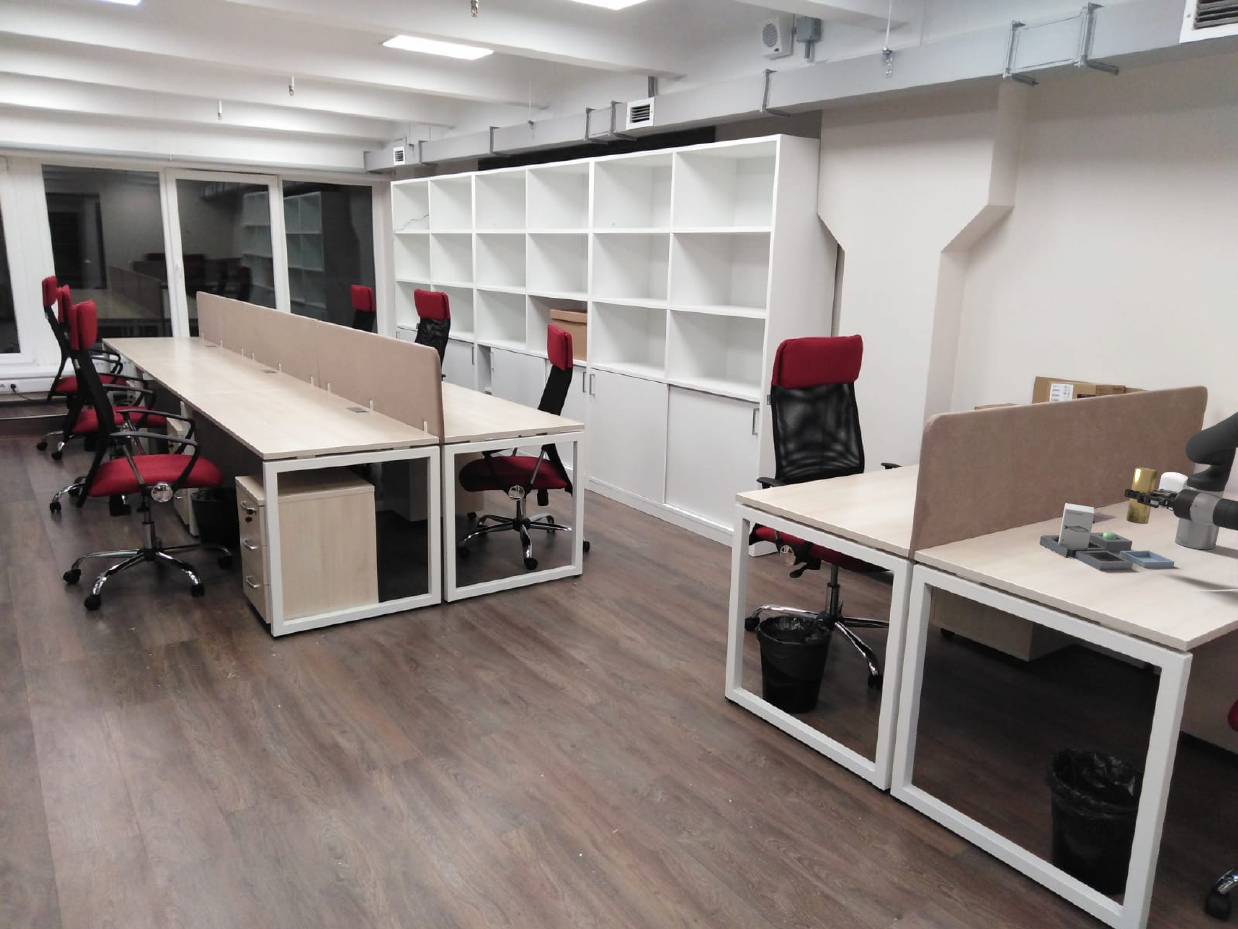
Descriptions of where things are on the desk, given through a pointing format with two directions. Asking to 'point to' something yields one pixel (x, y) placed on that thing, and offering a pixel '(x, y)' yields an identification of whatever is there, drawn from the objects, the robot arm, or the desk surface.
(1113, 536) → the button
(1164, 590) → the desk surface
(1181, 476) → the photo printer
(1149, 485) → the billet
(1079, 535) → the supplement box
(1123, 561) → the gray compartment tray
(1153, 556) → the tote tray
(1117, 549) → the grey square socket block
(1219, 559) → the desk surface
